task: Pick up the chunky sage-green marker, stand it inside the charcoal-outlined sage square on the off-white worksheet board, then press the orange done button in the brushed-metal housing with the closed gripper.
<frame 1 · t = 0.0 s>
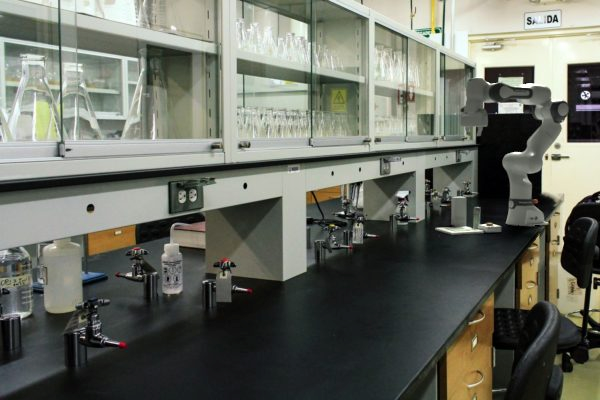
hand: (473, 135, 321), 48 cm above the worktop, fingers open, 8 cm apart
button housing: (489, 231, 312), on the worktop
done button: (489, 225, 311), point 3 cm above the worktop, slide at 0.0 cm
skincare box: (458, 226, 330), on the worktop
worksheet board: (459, 231, 311), on the worktop
sage marker: (476, 228, 321), on the worktop
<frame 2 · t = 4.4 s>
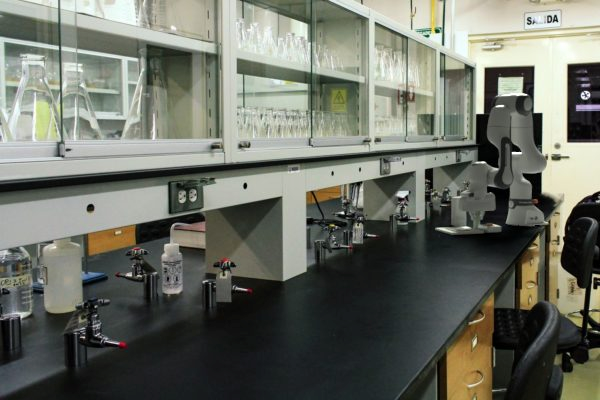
hand: (476, 219, 320), 5 cm above the worktop, fingers closed on sage marker, 3 cm apart
sage marker: (476, 228, 321), on the worktop, touching gripper
everything else where it was.
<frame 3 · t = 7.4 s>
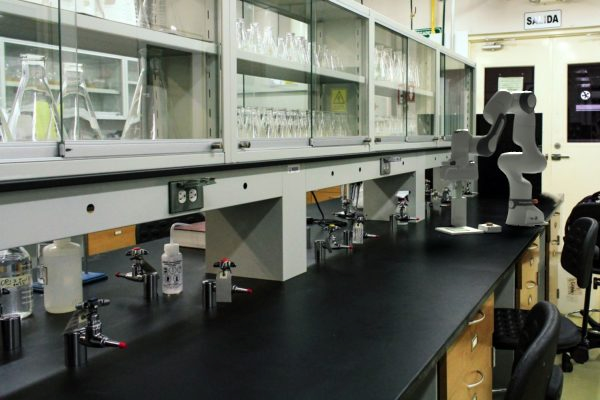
hand: (458, 189, 308), 21 cm above the worktop, fingers closed on sage marker, 3 cm apart
sage marker: (458, 198, 309), point 17 cm above the worktop, touching gripper
everything else where it was.
when the fingers open (7 cm above the worktop, at t = 10.7 s): sage marker drops 1 cm, resting on worksheet board.
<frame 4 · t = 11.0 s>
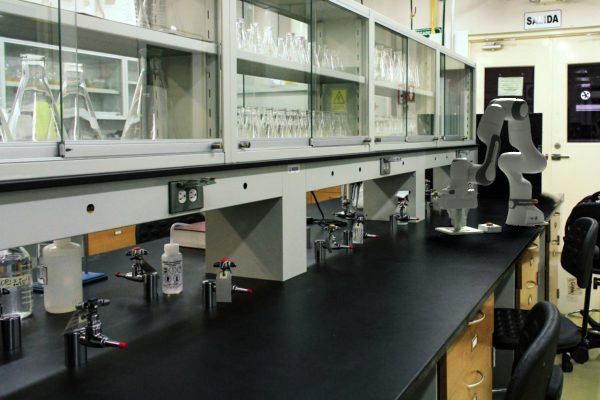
hand: (458, 217, 310), 7 cm above the worktop, fingers open, 6 cm apart
sage marker: (457, 229, 311), point 1 cm above the worktop, touching worksheet board
everything else where it was.
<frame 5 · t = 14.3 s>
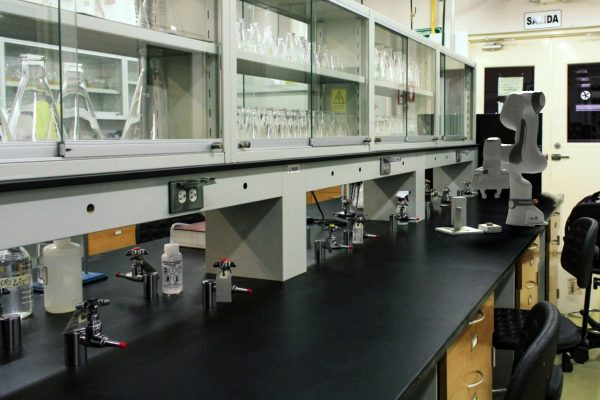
hand: (490, 197, 310), 17 cm above the worktop, fingers open, 6 cm apart
nothing on the worktop moved.
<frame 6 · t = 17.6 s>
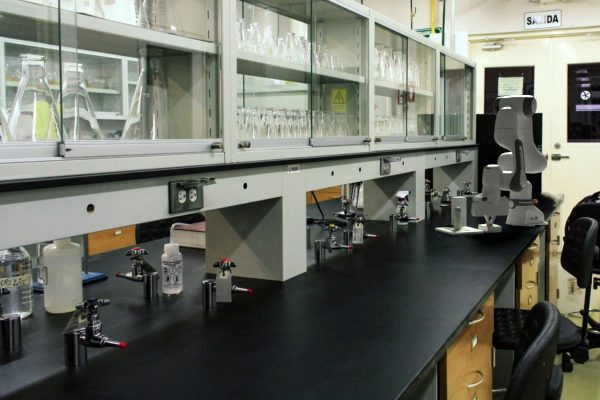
hand: (489, 224, 311), 4 cm above the worktop, fingers closed, pressing on done button
done button: (489, 226, 311), point 2 cm above the worktop, slide at 0.5 cm, touching gripper
everything else where it was.
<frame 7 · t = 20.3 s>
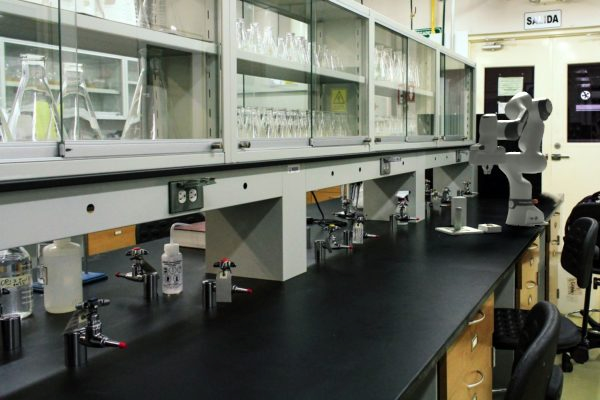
hand: (487, 173, 314), 29 cm above the worktop, fingers closed
done button: (489, 227, 312), point 2 cm above the worktop, slide at 0.6 cm
everything else where it was.
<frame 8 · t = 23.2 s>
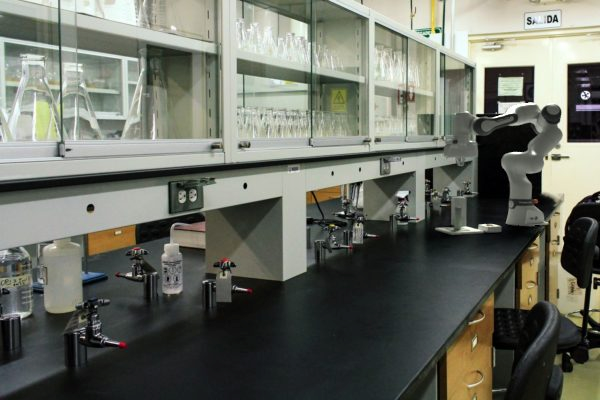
hand: (460, 165, 346), 31 cm above the worktop, fingers closed
at the end: sage marker 0.1 cm from the target spot on the worksheet board, point 1.2 cm above the worksheet board's base; sage marker tilted 4°; done button slide at 0.6 cm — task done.
